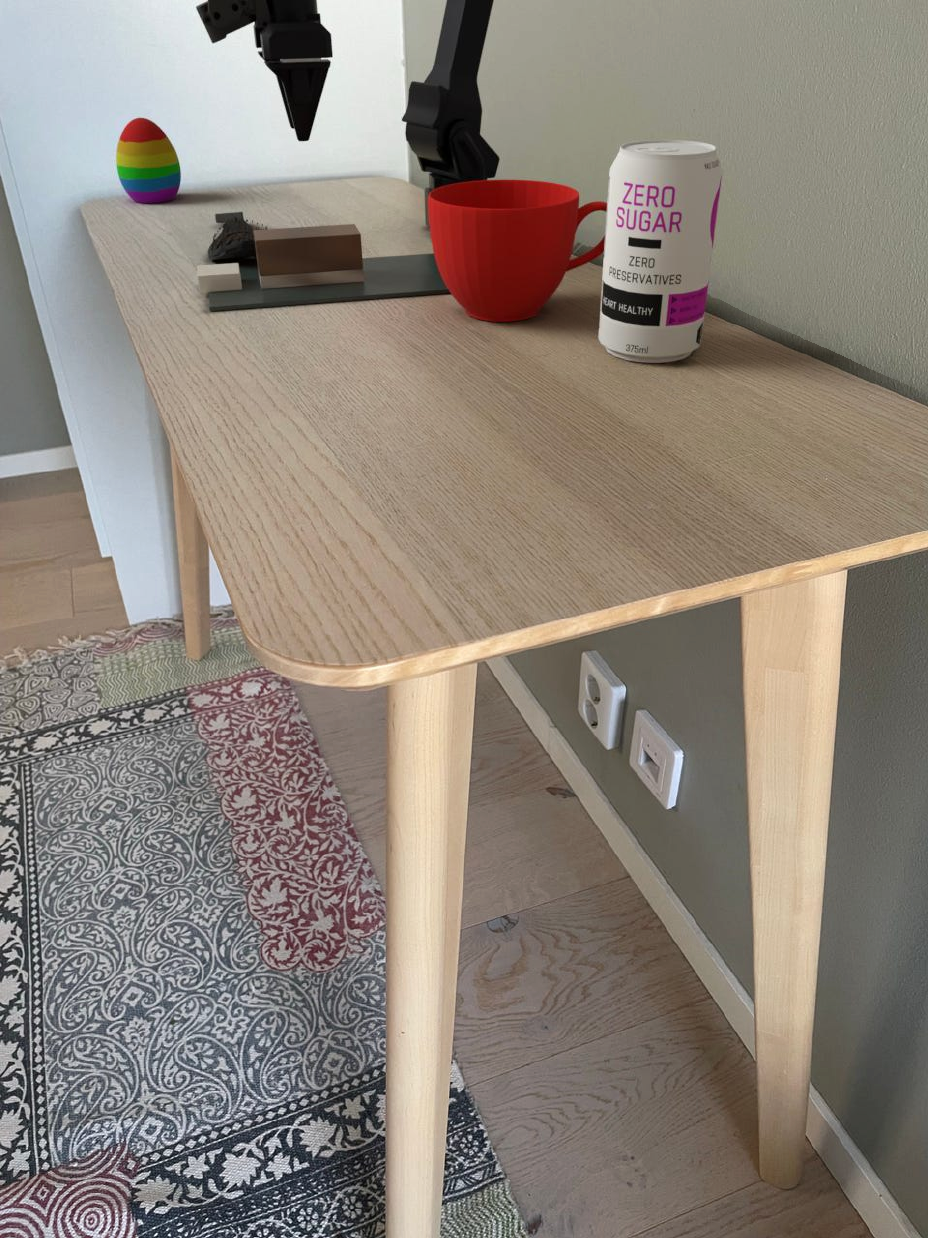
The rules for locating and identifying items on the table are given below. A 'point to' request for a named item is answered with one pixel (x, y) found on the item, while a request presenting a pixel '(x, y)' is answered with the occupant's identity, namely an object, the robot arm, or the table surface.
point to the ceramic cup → (506, 243)
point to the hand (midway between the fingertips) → (299, 134)
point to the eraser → (309, 256)
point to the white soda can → (658, 248)
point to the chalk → (219, 277)
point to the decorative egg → (147, 163)
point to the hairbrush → (233, 238)
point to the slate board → (340, 285)
